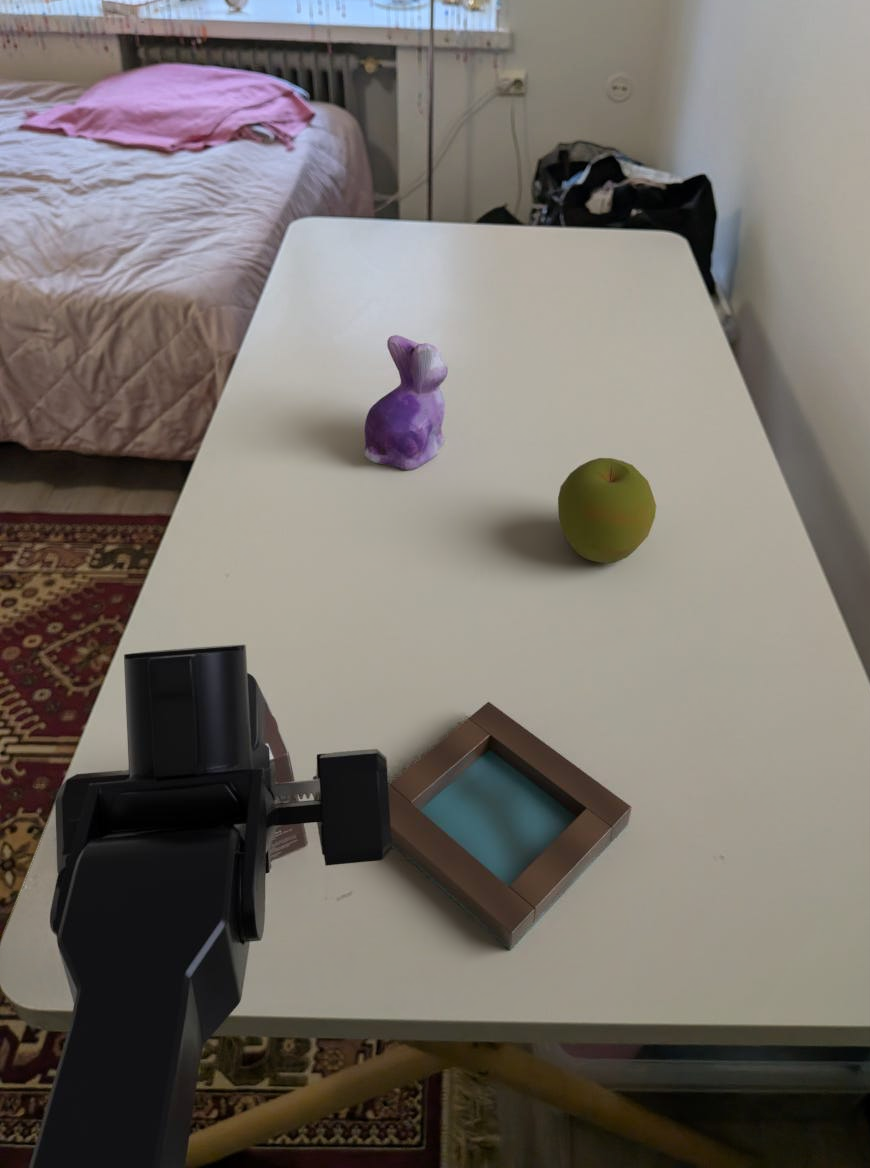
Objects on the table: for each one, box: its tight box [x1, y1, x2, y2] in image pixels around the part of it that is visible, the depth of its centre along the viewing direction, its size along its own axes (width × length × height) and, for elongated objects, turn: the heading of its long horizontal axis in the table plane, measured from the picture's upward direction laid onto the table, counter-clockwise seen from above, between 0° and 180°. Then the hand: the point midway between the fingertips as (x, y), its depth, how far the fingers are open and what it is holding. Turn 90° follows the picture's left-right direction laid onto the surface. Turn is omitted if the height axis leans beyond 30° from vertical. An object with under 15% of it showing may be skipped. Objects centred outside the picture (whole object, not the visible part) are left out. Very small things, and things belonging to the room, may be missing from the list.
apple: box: [557, 457, 657, 564], centre depth 97 cm, size 10×10×11 cm
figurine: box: [364, 334, 449, 471], centre depth 109 cm, size 9×10×15 cm
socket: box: [388, 701, 632, 951], centre depth 74 cm, size 14×15×2 cm
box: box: [263, 694, 309, 862], centre depth 70 cm, size 6×4×12 cm
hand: (248, 790), depth 64 cm, fingers open, 9 cm apart
